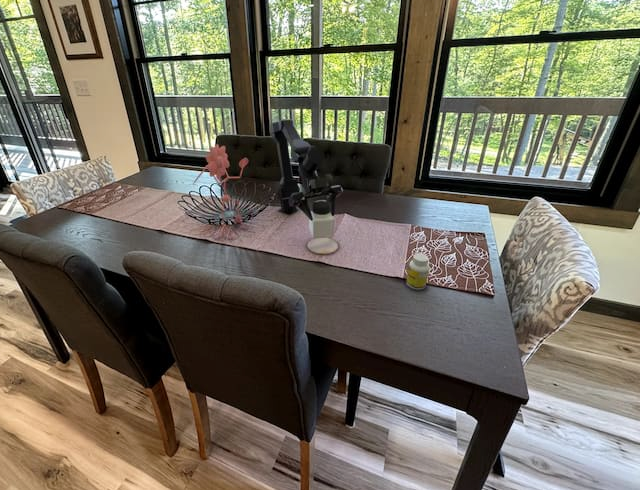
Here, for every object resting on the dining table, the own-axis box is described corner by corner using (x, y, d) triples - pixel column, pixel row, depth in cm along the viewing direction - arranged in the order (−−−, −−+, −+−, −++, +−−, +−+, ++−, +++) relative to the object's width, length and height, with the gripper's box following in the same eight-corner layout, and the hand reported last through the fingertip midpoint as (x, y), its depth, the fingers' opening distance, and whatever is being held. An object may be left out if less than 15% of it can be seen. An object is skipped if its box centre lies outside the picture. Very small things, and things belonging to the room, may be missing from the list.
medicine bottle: (333, 237, 108) (334, 206, 103) (313, 238, 108) (313, 207, 102) (328, 227, 114) (329, 197, 109) (309, 228, 114) (309, 198, 108)
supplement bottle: (402, 279, 95) (407, 252, 90) (420, 278, 95) (425, 251, 91) (410, 291, 90) (416, 263, 86) (429, 289, 90) (435, 261, 86)
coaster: (301, 247, 114) (301, 246, 113) (319, 235, 121) (319, 234, 120) (326, 258, 107) (326, 257, 107) (343, 245, 114) (343, 244, 114)
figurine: (258, 221, 134) (251, 138, 118) (218, 250, 114) (204, 156, 98) (230, 214, 141) (220, 135, 125) (188, 240, 122) (170, 151, 105)
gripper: (290, 170, 101) (304, 215, 97) (341, 162, 106) (356, 204, 102) (283, 185, 111) (295, 226, 107) (330, 177, 116) (343, 216, 112)
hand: (322, 218), depth 107 cm, fingers closed on medicine bottle, 8 cm apart
